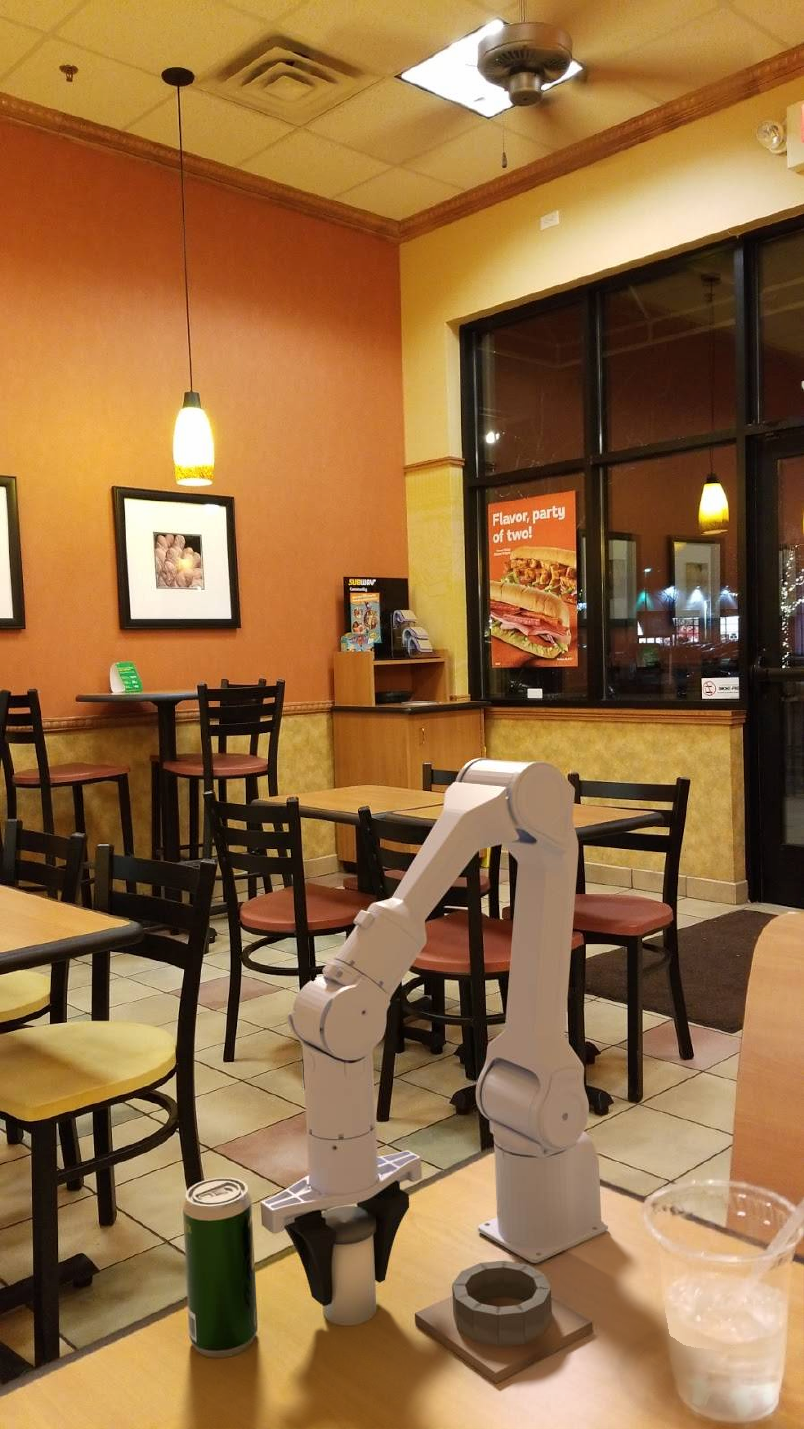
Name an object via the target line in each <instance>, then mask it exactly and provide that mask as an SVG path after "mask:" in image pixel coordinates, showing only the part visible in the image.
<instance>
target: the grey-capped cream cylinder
mask: <svg viewBox="0 0 804 1429" xmlns="http://www.w3.org/2000/svg"><path fill="white" fill-rule="evenodd" d="M322 1217H323V1218H324V1217H325V1218H326V1225H328V1226H329V1227H331V1228H332V1229H334V1230H335V1231H336V1232H337V1234H336V1238H335V1242H334V1247H333V1255H332V1289H333V1294H332V1303H331V1304H329V1305H327V1306H323V1305H322V1311H323V1316H324V1318H325V1319H326V1320H327V1321H328V1322H330V1323H332V1324H334V1323H335V1325H339V1326H355V1325H356V1326H357V1325H360V1324H363V1323H365V1322H367V1321H369V1320H371V1319H372V1318H373V1317H374V1316H375V1314H376V1312H377V1310H378V1309H377V1290H376V1287H377V1286H376V1280H375V1264H374V1242H373V1234H374V1233H375V1231H376V1216H375V1215H374V1213H373V1212H371V1211H370V1210H368V1209H365V1208H362V1207H357V1206H355V1205H354V1206H352V1205H351V1206H350V1205H344V1206H338V1207H333V1208H331V1209H328V1210H325V1211H323V1212H322Z"/></svg>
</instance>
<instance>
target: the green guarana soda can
mask: <svg viewBox="0 0 804 1429" xmlns="http://www.w3.org/2000/svg"><path fill="white" fill-rule="evenodd" d="M184 1199H185V1202H184V1203H183V1208H182V1214H183V1215H182V1216H183V1236H184V1237H183V1239H184V1252H185V1253H184V1254H185V1255H184V1256H185V1257H184V1258H185V1274H186V1275H185V1276H186V1293H187V1294H186V1295H187V1309H188V1310H187V1311H188V1312H187V1313H188V1315H187V1316H188V1329H189V1330H188V1331H189V1335H188V1336H189V1339H190V1341H191V1343H192V1345H193V1347H194V1348H195V1351H196V1352H197V1353H199V1354H200V1355H202V1356H204V1357H206V1358H214V1359H215V1358H216V1359H222V1358H228V1357H232V1356H236V1355H238V1354H240V1353H242V1352H244V1351H246V1350H247V1349H248V1348H249V1347H250V1346H251V1345H252V1343H253V1342H254V1340H255V1338H256V1335H257V1332H258V1325H259V1324H258V1306H257V1304H258V1302H257V1288H256V1286H257V1285H256V1267H255V1265H256V1264H255V1246H254V1227H253V1207H252V1197H251V1195H250V1194H249V1185H248V1184H247V1183H246V1182H244V1181H243V1180H242V1179H238V1178H234V1177H213V1178H209V1179H205V1180H202V1181H199V1182H197V1183H195V1184H193V1185H192V1186H191V1187H189V1188H188V1189H187V1190H186V1192H185V1198H184Z"/></svg>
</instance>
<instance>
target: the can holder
mask: <svg viewBox="0 0 804 1429" xmlns="http://www.w3.org/2000/svg"><path fill="white" fill-rule="evenodd" d="M451 1291H452V1295H451V1296H449V1297H447V1298H444V1299H442V1300H439V1301H438V1302H435V1303H434V1304H431V1305H429V1306H427V1307H425V1308H423V1309H420V1310H418V1311H416V1312H415V1313H414V1323H415V1324H417V1326H419V1327H420V1328H421V1329H422V1330H424V1331H425V1332H427V1333H428V1334H429V1335H431V1336H432V1337H434V1339H436V1340H438V1341H439V1342H440V1343H441V1344H443V1345H444V1346H445V1347H447V1348H448V1349H449V1350H451V1351H452V1352H454V1353H455V1354H456V1355H457V1356H458V1357H460V1358H462V1359H463V1360H464V1361H465V1362H466V1363H468V1364H469V1365H471V1366H472V1367H473V1368H475V1369H476V1370H477V1371H479V1373H481V1374H482V1375H484V1376H485V1377H487V1378H488V1379H489V1380H491V1381H492V1382H493V1383H495V1384H498V1383H499V1382H501V1381H504V1380H506V1379H507V1378H509V1377H511V1376H513V1375H515V1374H516V1373H517V1374H518V1373H519V1372H520V1371H522V1370H524V1369H526V1368H527V1367H529V1366H532V1365H534V1364H535V1363H537V1362H539V1361H541V1360H544V1359H545V1358H546V1357H548V1356H551V1355H553V1354H554V1353H557V1351H559V1350H561V1349H563V1348H565V1347H567V1346H569V1345H571V1344H572V1343H575V1342H576V1341H578V1340H580V1339H582V1338H584V1337H585V1336H588V1335H589V1334H591V1333H593V1332H594V1328H593V1327H594V1324H593V1322H594V1321H592V1320H590V1319H589V1318H587V1317H586V1316H585V1315H582V1314H581V1313H579V1312H577V1310H574V1309H573V1308H571V1307H569V1306H567V1305H566V1304H565V1303H563V1302H561V1301H560V1300H559V1299H556V1298H555V1297H554V1296H552V1288H551V1285H550V1283H549V1281H548V1278H547V1277H546V1275H545V1274H544V1273H543V1272H541V1271H539V1270H537V1269H536V1268H534V1267H533V1266H531V1265H529V1264H525V1263H519V1262H513V1261H509V1260H498V1261H485V1262H479V1263H477V1264H474V1265H472V1266H470V1267H468V1268H466V1269H464V1270H462V1271H460V1273H459V1274H458V1276H457V1277H456V1278H455V1279H454V1281H453V1282H452V1284H451Z"/></svg>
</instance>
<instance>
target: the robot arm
mask: <svg viewBox="0 0 804 1429" xmlns="http://www.w3.org/2000/svg"><path fill="white" fill-rule="evenodd" d="M575 792H576V789H575V787H574V786H573V785H572V784H571V782H570V780H568V779H567V778H566V777H565V775H564V774H563V773H562V772H561V771H560V770H559V769H558V767H557V766H555V765H554V764H552V763H550V762H547V761H541V760H540V761H531V762H530V761H529V762H527V761H514V760H510V761H509V760H500V759H499V760H497V759H491V758H489V757H479V758H475V759H474V758H473V759H472V760H470V761H468V762H467V763H465V765H463V767H462V768H461V769H460V770H459V772H458V774H457V776H456V778H455V781H454V782H452V784H450V786H448V788H447V789H446V790H445V791H444V799H443V806H442V811H441V813H440V815H439V817H438V818H437V820H436V822H435V824H434V825H433V827H432V829H431V830H430V832H429V834H428V836H427V837H426V838H425V841H424V843H423V844H422V846H421V847H420V848H419V851H418V852H417V854H416V856H415V857H414V859H413V861H412V862H411V864H410V865H409V868H408V870H407V871H406V873H405V874H404V876H403V878H402V880H401V881H400V883H399V884H398V886H397V888H396V890H395V891H394V892H393V895H392V896H391V898H388V899H384V900H380V901H377V902H372V903H371V904H370V905H369V906H368V908H367V910H363V909H361V910H360V911H359V912H358V913H357V914H356V916H355V918H354V920H353V924H354V925H355V926H354V928H353V930H352V931H351V933H350V934H349V936H348V937H347V938H346V940H345V941H344V943H343V944H342V946H340V948H339V950H338V952H337V953H336V955H335V956H334V958H333V959H332V960H331V961H328V962H326V965H325V966H324V967H323V969H322V973H323V975H322V976H318V977H315V978H314V980H313V981H312V980H309V981H307V983H306V984H305V985H303V987H302V988H301V989H300V990H299V991H298V992H297V995H296V997H295V999H294V1002H293V1009H292V1012H289V1013H288V1014H287V1022H288V1026H289V1029H290V1031H291V1033H292V1034H293V1035H294V1037H295V1038H297V1039H298V1040H299V1043H300V1044H301V1050H302V1051H301V1052H302V1059H303V1061H302V1062H303V1080H304V1081H303V1082H304V1100H305V1101H304V1103H305V1104H304V1105H305V1120H306V1121H305V1123H306V1125H305V1126H306V1140H307V1160H308V1162H307V1163H308V1175H307V1176H305V1177H303V1178H302V1179H300V1180H299V1181H297V1182H295V1183H293V1184H292V1185H290V1186H289V1187H287V1188H286V1189H284V1190H283V1191H281V1192H279V1193H278V1194H276V1195H274V1196H271V1197H270V1198H267V1199H265V1200H262V1201H260V1213H261V1214H260V1216H261V1226H262V1227H264V1228H265V1229H266V1230H267V1231H268V1232H270V1233H272V1235H276V1234H279V1233H281V1232H283V1231H286V1233H287V1234H288V1236H289V1238H290V1240H291V1242H292V1244H293V1245H294V1248H295V1249H296V1252H297V1254H298V1256H299V1258H300V1261H301V1263H302V1266H303V1270H304V1272H305V1275H306V1279H307V1282H308V1286H309V1290H310V1291H309V1292H310V1295H311V1298H313V1299H314V1300H315V1301H316V1302H318V1303H319V1304H320V1305H322V1307H323V1306H327V1305H329V1304H331V1303H332V1294H333V1289H332V1255H333V1247H334V1242H335V1238H336V1234H337V1232H336V1231H335V1230H334V1229H332V1228H331V1227H329V1226H328V1225H326V1218H325V1217H324V1218H323V1217H322V1213H324V1212H326V1211H328V1210H330V1209H334V1208H338V1207H344V1206H350V1205H354V1204H356V1207H362V1208H365V1209H368V1210H370V1211H371V1212H373V1213H374V1215H375V1216H376V1231H375V1233H374V1234H373V1242H374V1264H375V1282H377V1283H378V1284H380V1283H382V1282H385V1280H386V1278H387V1277H386V1276H387V1272H388V1267H389V1266H388V1265H389V1261H390V1257H391V1252H392V1249H393V1245H394V1242H395V1238H396V1235H397V1233H398V1230H399V1228H400V1225H401V1223H402V1221H403V1219H404V1217H405V1215H406V1213H407V1211H408V1210H409V1208H410V1195H409V1194H408V1193H407V1192H406V1191H404V1190H403V1189H401V1185H400V1184H401V1183H403V1182H405V1181H406V1182H407V1181H409V1182H411V1183H413V1182H414V1183H416V1182H417V1181H420V1180H422V1179H423V1177H422V1176H423V1173H422V1172H423V1171H422V1157H421V1156H419V1155H418V1154H416V1153H414V1152H412V1151H410V1150H408V1149H406V1150H403V1151H400V1152H395V1153H391V1154H386V1155H380V1156H378V1141H377V1140H378V1139H377V1122H376V1120H377V1119H376V1099H375V1080H374V1079H375V1078H374V1077H375V1076H374V1058H373V1054H374V1053H373V1050H374V1048H375V1047H376V1046H377V1045H378V1044H379V1043H380V1042H381V1041H382V1039H383V1038H384V1035H385V1032H386V1027H387V1020H388V1019H387V1013H388V1012H387V1011H388V1009H389V1007H390V1005H391V1001H390V1000H391V999H392V996H393V995H394V993H395V992H396V990H397V988H398V987H399V986H400V983H401V982H402V981H403V980H404V978H405V976H406V974H407V973H408V971H409V970H410V969H411V966H412V965H413V964H414V963H415V961H416V960H417V958H418V956H419V955H420V953H421V952H422V950H423V948H425V946H426V944H427V940H428V939H427V931H426V924H425V923H426V922H425V921H426V920H427V918H428V916H430V914H432V913H431V912H432V911H433V910H434V909H435V908H436V906H437V905H438V904H439V902H440V901H441V899H443V897H444V896H445V894H447V892H448V891H449V890H450V888H451V886H453V884H454V883H455V881H456V880H457V879H458V877H459V876H460V875H461V873H463V871H464V870H465V868H466V867H467V866H468V865H469V863H470V861H471V860H472V859H473V858H474V856H475V855H476V854H477V853H478V852H479V851H480V850H484V849H487V848H492V847H495V846H500V845H502V846H504V847H505V848H504V849H506V850H507V851H508V852H509V854H510V855H511V856H512V857H513V858H514V859H515V860H516V862H517V872H516V873H517V874H516V882H515V883H516V886H515V898H514V911H513V912H514V913H513V924H512V934H511V935H512V936H511V946H510V948H511V951H510V962H509V975H508V976H509V977H508V989H507V997H506V998H507V999H506V1000H507V1002H506V1013H505V1023H504V1025H505V1026H504V1030H503V1031H502V1032H501V1033H500V1034H498V1036H496V1037H495V1038H494V1039H492V1041H490V1042H489V1043H488V1045H487V1047H486V1048H487V1049H486V1058H485V1062H484V1065H483V1068H482V1069H481V1071H480V1074H479V1075H478V1076H479V1077H478V1079H477V1082H476V1085H475V1086H476V1087H475V1101H476V1105H477V1107H478V1108H477V1109H478V1110H479V1112H480V1114H481V1115H483V1117H484V1118H486V1119H487V1120H489V1132H490V1133H491V1134H493V1148H494V1171H495V1172H494V1173H495V1196H496V1197H495V1198H496V1199H495V1200H496V1217H494V1218H492V1219H490V1220H487V1221H485V1222H483V1223H480V1224H479V1225H477V1232H479V1233H481V1234H482V1235H484V1236H486V1237H487V1238H489V1239H491V1240H492V1241H494V1242H496V1243H497V1244H499V1245H501V1246H503V1247H504V1248H506V1249H508V1251H511V1252H513V1253H514V1254H516V1255H518V1256H519V1257H521V1258H523V1259H524V1260H527V1262H530V1263H532V1264H538V1263H540V1262H542V1261H544V1260H547V1259H549V1258H551V1257H553V1256H555V1255H557V1254H559V1253H562V1252H563V1251H566V1250H568V1249H570V1248H572V1247H574V1246H577V1245H579V1244H581V1243H583V1242H585V1241H587V1240H590V1239H592V1238H594V1237H596V1236H598V1235H600V1234H602V1233H604V1232H606V1231H608V1230H609V1225H608V1224H607V1223H606V1222H605V1221H602V1208H601V1206H602V1203H601V1184H600V1183H601V1179H600V1176H601V1175H600V1160H599V1156H598V1152H597V1149H596V1147H595V1145H594V1143H593V1141H592V1139H591V1138H590V1135H588V1134H587V1133H586V1132H585V1130H586V1126H587V1124H588V1119H589V1111H590V1105H589V1104H590V1103H589V1099H588V1095H587V1093H586V1089H585V1084H584V1081H585V1080H584V1077H585V1076H584V1075H585V1067H584V1063H583V1062H582V1060H580V1058H579V1056H578V1055H577V1053H576V1052H575V1051H574V1049H573V1047H572V1046H571V1045H570V1043H569V1041H568V1039H567V1038H566V1035H565V1033H566V1022H567V1019H566V1018H567V1009H568V1008H567V1007H568V1006H567V1005H568V998H569V997H568V996H569V994H568V993H569V984H570V981H569V980H570V970H571V969H570V968H571V954H572V940H573V926H574V916H575V903H576V902H575V899H576V887H577V878H578V865H579V864H578V862H579V840H578V836H577V832H576V827H575V824H574V821H573V820H574V806H575Z"/></svg>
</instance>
